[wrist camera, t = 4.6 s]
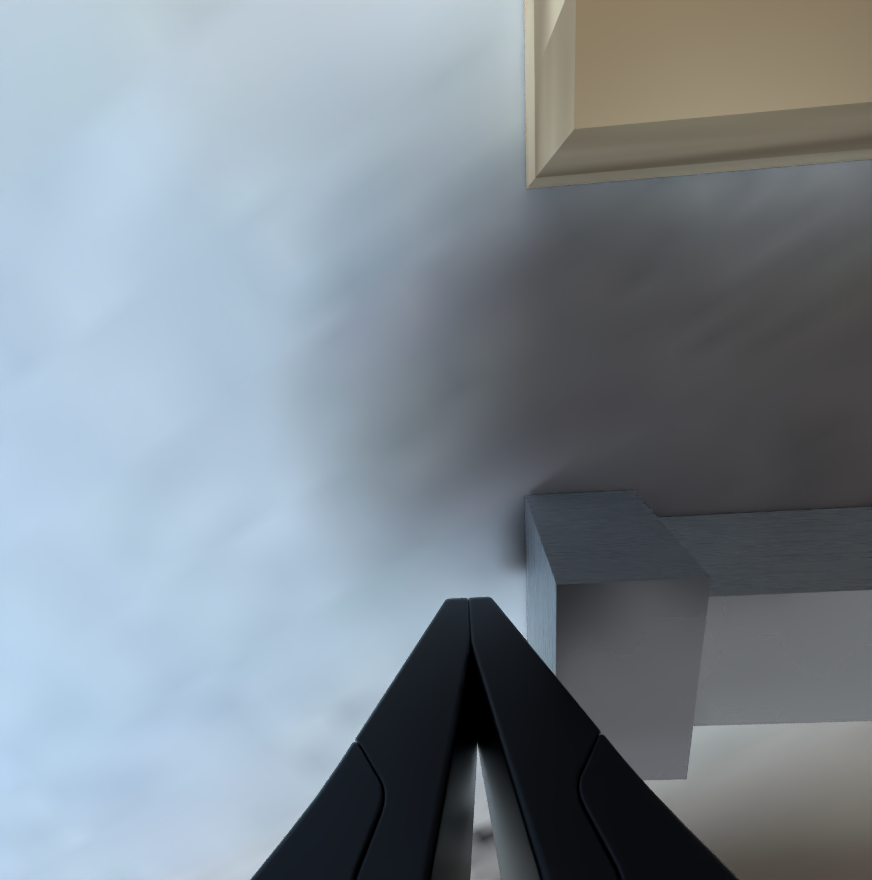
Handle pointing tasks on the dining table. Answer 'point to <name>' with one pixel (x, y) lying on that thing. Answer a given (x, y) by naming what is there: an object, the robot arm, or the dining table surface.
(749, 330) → the dining table surface
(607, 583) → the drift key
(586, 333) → the dining table surface
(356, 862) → the robot arm
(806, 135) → the rack
